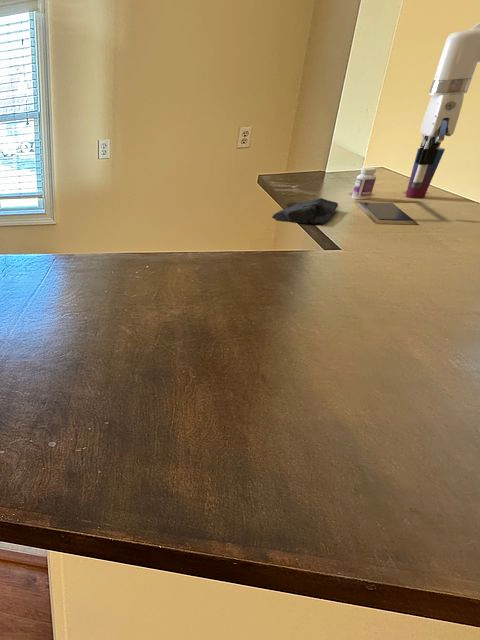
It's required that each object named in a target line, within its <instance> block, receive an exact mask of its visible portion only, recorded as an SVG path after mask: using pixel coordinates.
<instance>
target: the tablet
mask: <svg viewBox="0 0 480 640" xmlns="http://www.w3.org/2000/svg"><path fill="white" fill-rule="evenodd" d="M357 207H358V208H360V210H361V211H362V212H363V213H364V214H365V215H366V216H367V217H368V218H369V219H370V220H371V221H372V222H373V223H374V224H375V225H376V224H378V225H415V226H416V225H417V226H420V223H418V222H417V221H416V220H414V219H413V218H412V217H411V216H410V215H408V214H407V213H405V211H403V209H400V208H399V207H398V206H397V205H396V204H395V203H394V202H367V201H366V202H363V201H361V202H359V201H357Z"/></svg>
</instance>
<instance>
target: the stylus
mask: <svg viewBox="0 0 480 640" xmlns="http://www.w3.org/2000/svg"><path fill="white" fill-rule="evenodd" d="M426 144H427V141H426ZM426 144H425V147H426ZM425 147H424V149H425ZM427 166H428V165H419V166H418V169H417V172H416V175H415V178H414V181H413V184H412V188H420V187H421V184H422V181H423V178H424V175H425V172H426V169H427Z"/></svg>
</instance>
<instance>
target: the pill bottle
mask: <svg viewBox="0 0 480 640" xmlns="http://www.w3.org/2000/svg"><path fill="white" fill-rule="evenodd" d="M376 171H377V168H376V167H362V168H361V169H360V174H358V175H357V176H356V180H355V183H354V186H353V190H352V194H351V198H352V199H354V200H369V199H370V198H371V196H372V193H373V190H374V186H375V183H376V179H377V176H376Z"/></svg>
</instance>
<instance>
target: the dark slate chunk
mask: <svg viewBox="0 0 480 640" xmlns="http://www.w3.org/2000/svg"><path fill="white" fill-rule="evenodd" d="M338 207H339V203H338V202H336V201H332V200H328V199H325V198H323V197H319V198H314V199H310V200H305V201H300V202H298V203H295V204H294V205H291V206H289V207H287V208H283V209H281V210H279V211H277V212H275V213H274V214H273V215H272V216H271V218H272V219H274V220H275V222H283V223H292V224H301V225H324V224H326V223H327V222H328V221H330V219H331V218H332V217H333V215H334V213H335V212H336V210H337V208H338Z"/></svg>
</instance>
